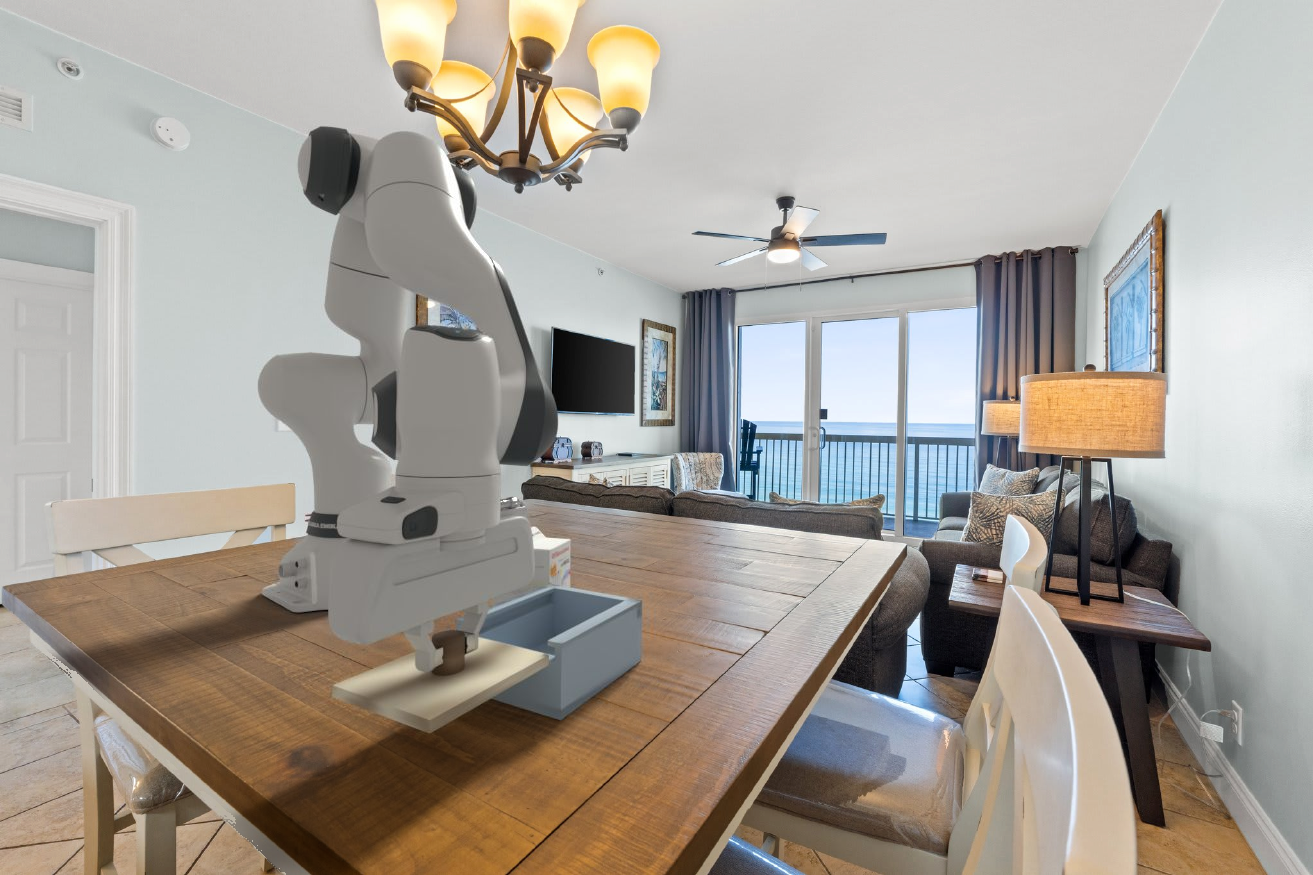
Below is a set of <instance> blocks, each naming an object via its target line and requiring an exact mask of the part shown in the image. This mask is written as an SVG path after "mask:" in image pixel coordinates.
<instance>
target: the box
mask: <svg viewBox="0 0 1313 875" xmlns="http://www.w3.org/2000/svg"><path fill="white" fill-rule="evenodd" d="M463 618H464V615H462V616H461V617H458V618H456V619H455V630H458V631H460V627H461V624H462V621H463ZM642 631H643V600H642V599H638V598H630V597H627V596H620V595H615V594H609V593H603V592H597V591H593V590H586V589H580V588H576V587H571V586H570V587H564V586H559V585H553V584H548V585H545V586H543V587H540V588H537V589H535V590H532V591H529V592H527V593H524V594H522V595H519V596H516V597H514V598H511V599H508V600H506V601H503V602H500V603H498V604H495V605H494V604H493V605H490V606H489V609H488V613H487V616H486V618H485V620H484V623H483V625H482V627H481V629H480V631H479V638H483V639H487V640H491V641H495V642H499V643H503V644H507V645H512V646H516V647H520V648H524V649H528V650H532V651H536V652H540V653H544V654H548V655H549V665H548V666H546V667H545V668H543V669H541V670H539V671H538V672H536V673H534V674H532V675H531V676H529V677H527V678H526V679H524V680H522V681H520V682H519V683H517V684H515V685H513V686H512V687H510V688H508V689H506V690H505V691H503V692H501V693H499V694H498V695H496V696H494V697H492V698H491V699H490V700H493V701H498V702H500V703H504V704H507V705H510V706H513V707H516V708H519V709H523V710H527V711H529V712H533V713H536V714H538V715H539V714H540V715H543V716H545V717H549V718H552V719H556V720H559V721H562V720H563V719H565V718H566V717H567V716H568V715H570V714H571V713H572V712H574V711H575V710H577V709H578V708H580V707H581V706H582V705H584V704H585V703H586V702H588V701H589V700H590V699H592V698H593V697H594V696H596V695H597V694H599V693H600V692H601V691H602V690H604V689H605V688H607V687H608V686H609V685H611V684H612V683H614V681H616V680H617V679H618V678H621V677H622V676H623V675H624V674H626V673H627V672H628V671H629V670H631V669H633V667H635V666H637V665H638V664H639V663H640V662H642V644H643V643H642V641H643V640H642V636H643V632H642Z"/></svg>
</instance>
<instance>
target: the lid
mask: <svg viewBox="0 0 1313 875" xmlns="http://www.w3.org/2000/svg"><path fill="white" fill-rule="evenodd" d="M431 641H432V643H433V645H434V646H440V647H443V656H442V659H443V664H442V666H440V667H438V668H436V669H434V670H432V671H430V672H427V673H426V672H423V671H419V670H417V668H416V666H415V651H413V652H411V653H409V654H405V655H403V656H401V657H398V658H396V659H393V660H391V661H389V662H386V663H383V664H381V665H378V666H376V667H373V668H372V669H369V670H366V671H363V672H361V673H358V674H356V675H354V676H352V677H349V678H346V679H344V680H341V681H339V682H337V683H335V684H331V685H332V687H331V689H332V690H331V697H332V698H334V699H337V700H339V701H342V702H345V703H347V704H350V705H352V706H356V707H357V708H359V709H364V710H366V711H368V712H371V713H373V714H376V715H379V716H382V717H383V718H384V717H385V718H387V719H390V720H391V721H395V722H398V723H400V724H403V725H407V726H409V727H410V728H413V729H417V730H419V731H422V732H425V733H427V734H431V733H433V732H435V731H437V730H439V729H440V728H443V727H444V726H445V725H447V724H449V723H450V722H452V721H454V720H456V719H457V718H460V717H461V716H463V715H465V714H466V713H468V712H470V711H471V710H473V709H475V708H477V707H479V706H481V704H484V703H485V702H487V701H489V700H492V699H491V698H492V697H494V696H496V695H498V694H499V693H501V692H503V691H505V690H506V689H508V688H510V687H512V686H513V685H515V684H517V683H519V682H520V681H522V680H524V679H526V678H527V677H529V676H531V675H532V674H534V673H536V672H538V671H539V670H541V669H543V668H545V667H546V666H548V665H549V655H548V654H544V653H540V652H536V651H532V650H528V649H524V648H520V647H516V646H512V645H507V644H503V643H499V642H495V641H491V640H487V639H483V638H479V640H478V649H477V650H475V651H473V652H471V653H468V654H466V655H465V633H464V632H462V631H458V630H456V629H450V630H443V631H439V632H437V633H434V634H433V635H432V636H431Z"/></svg>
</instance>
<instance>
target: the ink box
mask: <svg viewBox="0 0 1313 875" xmlns="http://www.w3.org/2000/svg"><path fill="white" fill-rule="evenodd" d="M531 530H532V537H533V546H534V559H535V574H534V577H533V579H532V581H531V583H530V585H529V586H527V587H524V588H521V589H518V590H516V591H513V592H510V593H508V594H505V595H502V596H499V597H497V598H494V599H493V605H495V604H498V603H500V602H503V601H506V600H508V599H511V598H514V597H516V596H519V595H522V594H524V593H527V592H529V591H532V590H535V589H537V588H540V587H543V586H545V585H548V584H553V585H559V586H564V587H570V588H571V542H572V540H571V539H570V538H555V537H554V538H553V537H546V536H545V535H544V534H543V533H542V531H540V530H539V528H538V527H536V526H531Z"/></svg>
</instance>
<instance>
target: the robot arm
mask: <svg viewBox="0 0 1313 875" xmlns="http://www.w3.org/2000/svg"><path fill="white" fill-rule="evenodd" d="M297 171H298V172H297V173H298V177H299V180H300V184H301V186H302V191H303V194H304V196H305V197H306V199H307V200H308V201H309V203H311V205H313V206H314V207H315V208H318V209H319V210H320V209H321V210H322V211H324V212H327V213H328V214H330V215H333V216H338V215H339V217H338V219H337V222H336V226H335V230H334V233H333V238H332V242H331V248H330V255H329V261H328V270H327V277H326V278H327V279H326V288H325V296H324V311H325V313H326V315H327V317H328V319H329V320H330V322H332V323H333V325H334V326H336V327H337V328H338V329H340V330H341V331H343V332H344V333H346V334H348V335H349V336H350V337H353V338H354V339H356V340H357V341H359V345H360V346H359V347H360V352H359V355H346V354H345V355H343V354H342V355H341V354H331V353H323V352H322V353H321V352H311V351H309V352H297V353H296V352H294V353H293V352H292V353H286V354H285V353H284V354H276V355H275V356H273V357H272V358H270V359H269V360H267V362H266V363H265V364H264V365H263V367H262V369H261V371H260V373H259V376H258V380H257V392H258V397H259V399H260V402H261V404H262V405H263V407H264V408H265V409H266V410H267V412H268V413H269V414H270V415H271V416H273V417H274V418H276V420H278V421H280V422H281V423H282V424H285V425H286V426H287V427H288V428H289V429H290V430H292V432H293V433H294V434H295V435H296V436H297V438H299V440H300V441H301V443H302V445H303V447H305V450H306V452H307V454H308V458H309V459H310V464H311V470H312V471H311V472H312V477H313V478H312V479H313V480H312V481H313V494H314V495H313V497H314V498H313V500H314V503H313V504H314V506H313V509H314V510H313V511H312V512H311V513H308V514H305V515H304V516H305V517H309V518H308V519H304V522H308V523H307V528H306V532H305V533H306V534H307V535H305V536H304V537H303V538H302V539H301V540H300V541H299V542H298V543H297V544H296V545H295V546H293V547H292V549H290V550H289V551H287V552H286V554H284V555H283V557H282V558H281V561H280V564H279V565H278V568H277V570H278V571H277V572H278V575H279V581H278V582H275V583H272V584H270V585H267V586H264V587H263V588H262V590H261V595H262V596H264V597H265V598H268V599H269V600H271V601H273V602H275V603H276V604H278V605H280V606H282V607H284V608H285V609H287V610H289V611H290V612H293V613H304V612H313V611H323V610H324V611H325V610H328V612H327V613H328V614H327V615H328V626H329V629H330V630H331V632H332V633H334V635H335V636H336V637H337V638H339V639H340V640H343V641H345V642H349V643H352V644H357V645H360V646H367V645H370V644H374V643H376V642H379V641H381V640H384V639H387V638H390V637H392V636H395V635H397V634H398V635H399V634H400V633H403V634H404V637H405V638H406V639H407V640H408V642H409V644H410V645H411V647H412V648H413V649H414V652H415V666H416V668H417V670H419V671H423V672H426V673H427V672H430V671H432V670H434V669H436V668H438V667H440V666H442V664H443V659H442V656H443V647H440V646H434V645H433V643H432V638H431V637H430V635H429V634H432V633H434V631H435V621H436V620H438V619H441V618H445V617H447V616H449V615H452V614H455V613H457V612H461V611H462V612H465V613H464V615H463V616H464V618H463V621H462V624H461V627H460V631H462V632H464V633H465V655H466V654H468V653H471V652H473V651H475V650H477V649H478V640H479V631H480V629H481V627H482V625H483V623H484V620H485V618H486V616H487V613H488V609H489V607H490V606H489V601H490V600H494V598H497V597H499V596H502V595H505V594H508V593H510V592H513V591H516V590H518V589H521V588H524V587H527V586H529V585H530V583H531V581H532V579H533V577H534V574H535V559H534V546H533V536H532V530H531V527H532V526H531V524H530V521H529V511H528V507H527V506H526V505H525V504H524V503H523V501H521V500H520V499H519V497H517V496H516V497H515V496H510V497H509V496H508V497H506V498H502V497H501V490H502V489H501V487H502V485H501V484H502V482H501V481H502V478H501V477H502V469H501V466H503V465H505V466H507V465H508V466H519V467H520V466H521V467H528V466H530V465H531V464H533V463H534V462H536V461H537V460H538V459H540V458H541V457H542V456H544V454H546V452H547V451H548V450H549V449H550V448H551V447H552V445H553V444H554V442H555V441H556V439H557V436H558V432H559V431H558V430H559V415H558V408H557V405H556V404H557V403H556V401H555V397H554V394H553V393H552V391H551V389H550V387H549V385H548V383H547V382H546V380H545V378H544V376H543V374H542V373H541V370H540V369H539V366H538V363H537V360H536V359H535V355H534V352H533V349H532V347H531V344H530V341H529V338H528V335H527V333H526V332H527V331H526V329H525V327H524V324H523V323H524V322H523V320H522V317H521V315H520V312H519V309H518V306H517V304H516V301H515V298H514V294H513V293H512V290H511V287H510V284H509V283H508V280H507V278H506V275H505V273H504V271H503V269H502V267H501V266H500V264H499V263H498V262H497V261H496V260H495V259H493V258H492V257H491V256H489V255H488V254H487V253H486V252H485V251H484V250H483V249H482V248H481V246H480V244H478V242H477V241H476V240H475V238H474V237H473V235H472V233H471V229H472V227H473V223H474V222H475V221H474V220H475V218H476V214H477V211H478V210H477V207H478V201H477V200H478V194H477V188H476V185H475V183H474V180H473V178H472V177H471V176H470V175H469V174H468V173H466V172H465V171H464V170H463V169H460V168H459V167H457V166H456V165H453V164H452V163H451V162H450V159H449V157H448V155H447V153H445V150H443V148H442V147H441V146H440V145H439V144H438V143H436V142H435V141H434V140H433V139H431V138H430V137H428V136H426V135H424V134H421V133H417V132H414V131H408V130H405V131H404V130H401V131H395V132H392V133H391V132H390V133H389V134H387V135H384V136H382V138H381V139H377V138H374V137H369V136H366V135H365V136H364V135H360V134H356V133H352V132H349V130H347V129H346V128H342V127H336V126H335V127H334V126H328V125H327V126H325V125H323V126H318V127H317V128H314V129H312V130H311V131H309V133H308V137H307V138H306V139H305V140H304V141H303V143H302V144H301V148H300V150H299V153H298V158H297ZM409 292H411V293H413V294H416V295H418V296H420V297H424V298H427V299H429V300H432V301H434V302H437V303H439V304H442V305H444V306H446V307H448V308H449V309H452V310H454V311H456V312H458V313H459V314H461V315H463V316H464V317H465V318H467V319H468V320H470V321H471V322H472V323H473V324H474V325H475V327H477V329H474V328H461V327H457V326H456V327H454V326H446V325H445V326H443V325H436V324H433V325H430V324H419V325H414V326H412V327H409V328H408V329H406V314H407V313H406V312H407V301H408V293H409ZM354 425H373V428H372V436H371V440H370V442H371V443H373V445H374V446H375V447H376V448H378V449H379V450H380V451H381V452H380V451H378V450H377V449H375V448H372V447H370V446H369V445H366V444H364V443H362V442H360V441H359V439H358V438H357V435H356V433H355V429H354V428H355V426H354ZM384 454H385V455H386V456H387V457H389V458H391V459H392V460H393V461H397V464H396V467H395V479H394V480H395V485H393V486H392V476H393V475H392V474H393V473H392V472H393V470H392V468H393V467H392V466H391V463H390V461H389V459H388V458H387V457H386V456H385V455H384Z"/></svg>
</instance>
